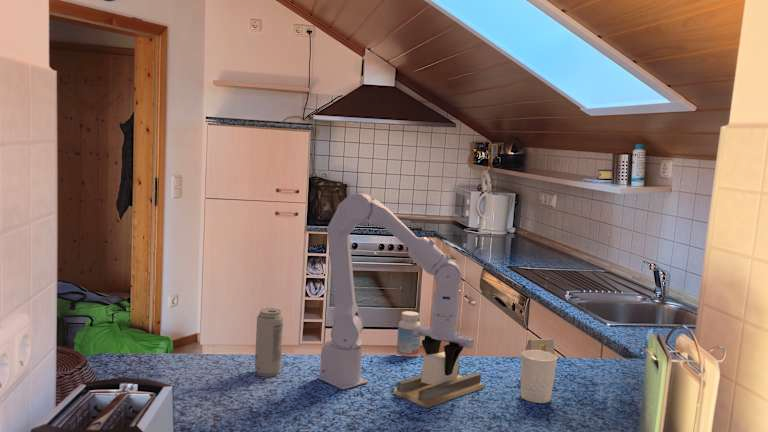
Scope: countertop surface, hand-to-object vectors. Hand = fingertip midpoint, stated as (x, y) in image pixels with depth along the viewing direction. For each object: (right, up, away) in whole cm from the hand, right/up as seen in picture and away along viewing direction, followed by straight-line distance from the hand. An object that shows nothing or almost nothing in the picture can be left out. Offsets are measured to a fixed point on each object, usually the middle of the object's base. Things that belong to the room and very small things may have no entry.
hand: (440, 372), depth 148 cm
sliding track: (0, -4, 0) cm, 4 cm away
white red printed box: (+25, -5, +13) cm, 29 cm away
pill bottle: (-7, -2, +26) cm, 27 cm away
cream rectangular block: (0, -2, 0) cm, 2 cm away
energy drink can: (-41, -2, +5) cm, 41 cm away
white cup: (+22, -6, 0) cm, 22 cm away
